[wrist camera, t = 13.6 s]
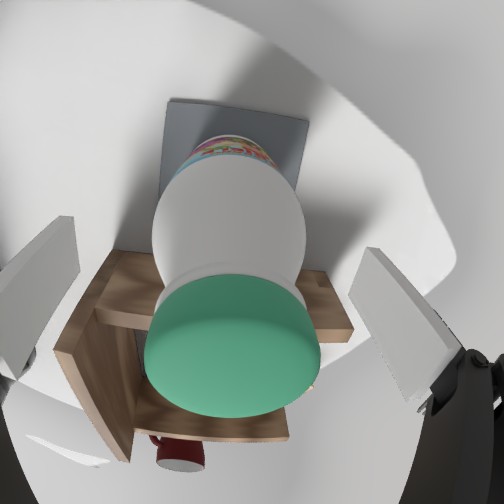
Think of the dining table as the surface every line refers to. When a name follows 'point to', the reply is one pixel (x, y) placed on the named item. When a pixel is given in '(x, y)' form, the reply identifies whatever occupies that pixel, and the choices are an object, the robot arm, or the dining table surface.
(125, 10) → the dining table surface
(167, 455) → the mug
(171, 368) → the milk bottle
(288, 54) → the dining table surface
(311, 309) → the rack
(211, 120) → the mat
